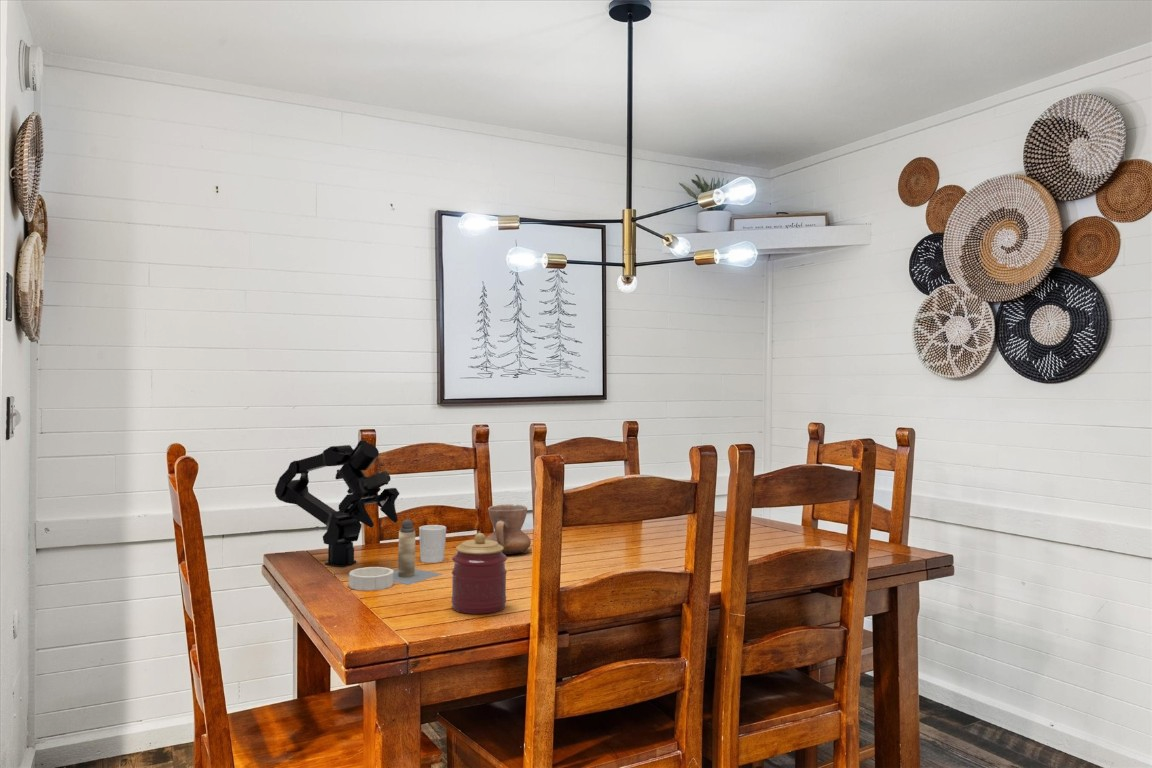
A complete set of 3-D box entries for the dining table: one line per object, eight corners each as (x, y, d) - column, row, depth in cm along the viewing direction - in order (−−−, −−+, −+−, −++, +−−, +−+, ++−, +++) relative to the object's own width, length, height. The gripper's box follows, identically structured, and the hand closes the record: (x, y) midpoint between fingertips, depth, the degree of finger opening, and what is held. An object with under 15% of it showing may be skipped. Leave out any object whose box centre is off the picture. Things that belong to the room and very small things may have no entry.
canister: (459, 617, 182) (460, 540, 181) (445, 602, 193) (446, 529, 193) (513, 612, 187) (515, 536, 187) (496, 597, 199) (497, 526, 198)
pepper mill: (394, 576, 216) (395, 520, 216) (403, 572, 220) (404, 517, 220) (409, 578, 215) (410, 521, 215) (417, 574, 219) (418, 518, 219)
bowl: (340, 588, 204) (340, 574, 204) (365, 578, 214) (365, 565, 214) (377, 593, 200) (377, 579, 200) (401, 583, 211) (401, 569, 211)
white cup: (439, 565, 232) (440, 530, 232) (414, 563, 233) (414, 529, 233) (449, 559, 239) (450, 525, 239) (424, 557, 241) (425, 524, 241)
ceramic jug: (495, 544, 261) (495, 501, 261) (537, 547, 257) (537, 503, 257) (474, 557, 243) (474, 511, 243) (519, 560, 240) (519, 513, 239)
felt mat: (368, 578, 215) (368, 577, 215) (404, 568, 227) (405, 567, 227) (407, 585, 208) (407, 584, 208) (443, 575, 220) (443, 573, 220)
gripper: (346, 465, 216) (375, 509, 211) (395, 459, 232) (423, 501, 227) (325, 491, 220) (353, 536, 215) (375, 484, 236) (402, 526, 231)
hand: (384, 524), depth 222 cm, fingers open, 9 cm apart
